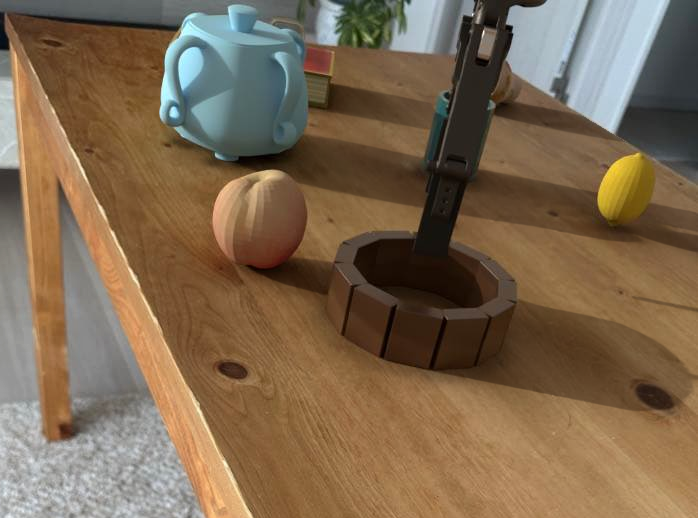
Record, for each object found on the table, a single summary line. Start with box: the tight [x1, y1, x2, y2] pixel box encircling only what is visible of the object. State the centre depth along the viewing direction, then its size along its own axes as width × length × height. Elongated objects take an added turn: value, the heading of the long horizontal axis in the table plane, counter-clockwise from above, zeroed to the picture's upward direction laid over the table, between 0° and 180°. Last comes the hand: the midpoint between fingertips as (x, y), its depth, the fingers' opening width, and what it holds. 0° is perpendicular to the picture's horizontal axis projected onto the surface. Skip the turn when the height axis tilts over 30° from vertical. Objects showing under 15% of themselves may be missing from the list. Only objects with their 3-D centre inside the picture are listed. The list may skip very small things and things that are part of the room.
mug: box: [490, 58, 523, 106], centre depth 123 cm, size 8×10×10 cm
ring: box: [324, 230, 518, 371], centre depth 74 cm, size 15×15×4 cm
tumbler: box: [421, 89, 496, 183], centre depth 100 cm, size 6×6×8 cm
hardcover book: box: [166, 24, 336, 109], centre depth 116 cm, size 12×21×4 cm, turn 86°
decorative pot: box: [159, 4, 309, 162], centre depth 95 cm, size 16×16×14 cm
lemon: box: [597, 152, 656, 227], centre depth 95 cm, size 6×6×8 cm
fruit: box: [212, 169, 309, 270], centre depth 76 cm, size 8×8×8 cm
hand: (434, 222), depth 76 cm, fingers open, 13 cm apart
